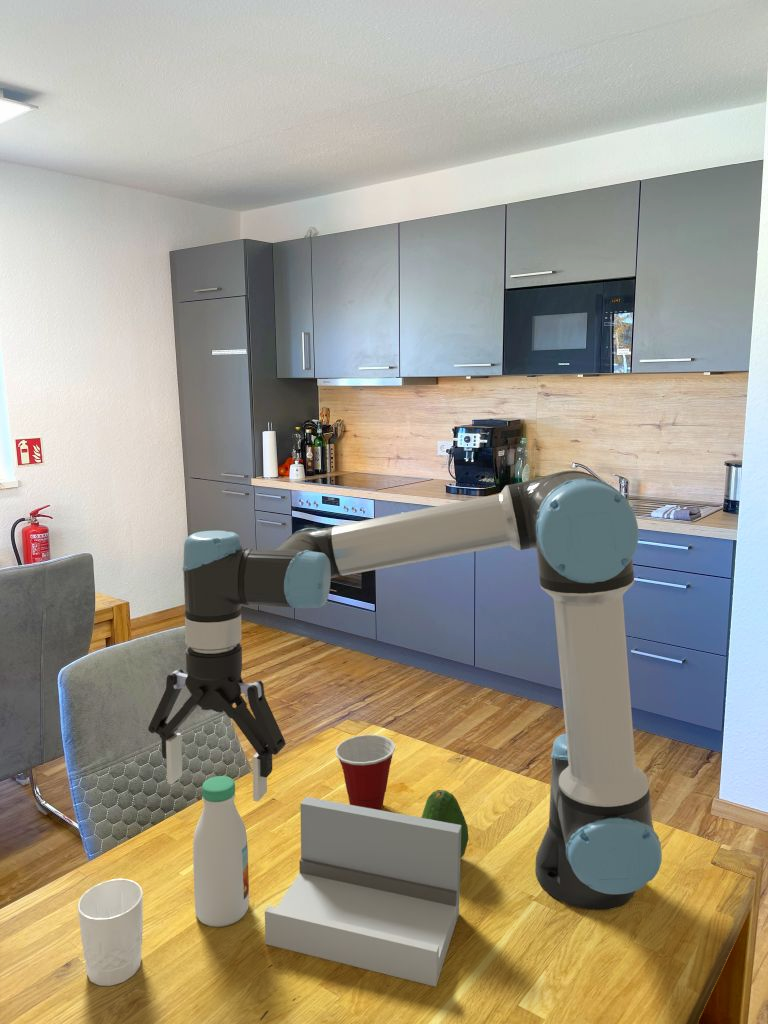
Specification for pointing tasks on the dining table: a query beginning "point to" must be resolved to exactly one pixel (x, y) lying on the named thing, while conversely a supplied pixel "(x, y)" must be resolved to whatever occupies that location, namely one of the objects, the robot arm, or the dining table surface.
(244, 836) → the milk bottle
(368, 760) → the plastic cup
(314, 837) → the board
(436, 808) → the avocado
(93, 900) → the white cup
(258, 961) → the dining table surface
